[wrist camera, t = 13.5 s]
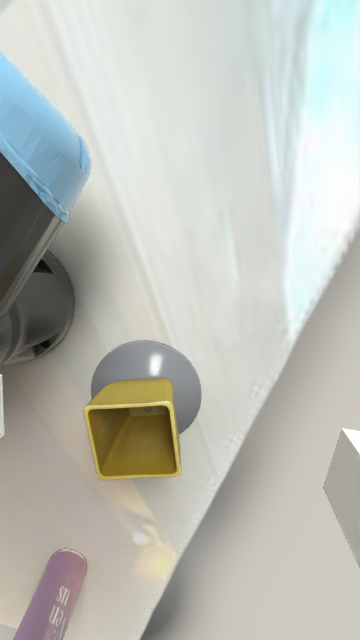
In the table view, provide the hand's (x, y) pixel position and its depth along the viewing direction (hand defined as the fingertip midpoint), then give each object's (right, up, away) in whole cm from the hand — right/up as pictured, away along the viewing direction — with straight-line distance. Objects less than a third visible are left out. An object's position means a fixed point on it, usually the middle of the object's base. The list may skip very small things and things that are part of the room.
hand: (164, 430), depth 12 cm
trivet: (-4, -5, +28) cm, 29 cm away
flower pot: (-3, -5, +27) cm, 28 cm away
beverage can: (-17, -34, +38) cm, 54 cm away
